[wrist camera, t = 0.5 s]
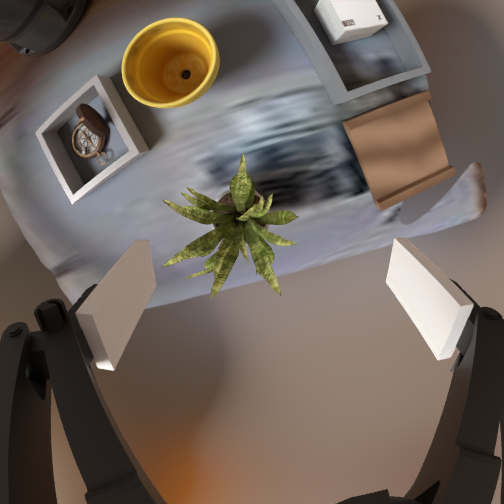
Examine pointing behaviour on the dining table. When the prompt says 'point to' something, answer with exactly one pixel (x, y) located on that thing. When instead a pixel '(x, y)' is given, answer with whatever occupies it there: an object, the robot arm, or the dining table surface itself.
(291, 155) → the dining table surface
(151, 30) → the plant pot
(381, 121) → the tray
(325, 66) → the grey storage bin
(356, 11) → the skincare box
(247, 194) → the house plant
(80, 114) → the compass
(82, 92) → the dish
